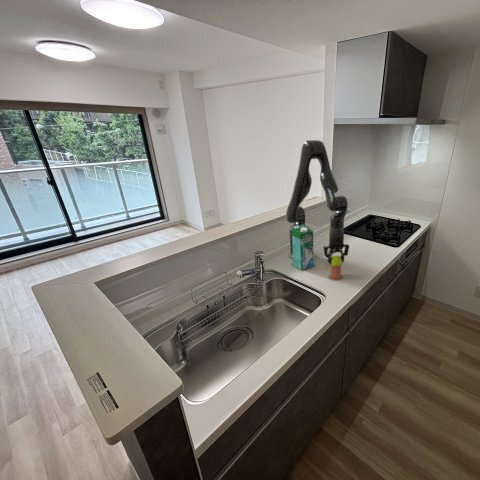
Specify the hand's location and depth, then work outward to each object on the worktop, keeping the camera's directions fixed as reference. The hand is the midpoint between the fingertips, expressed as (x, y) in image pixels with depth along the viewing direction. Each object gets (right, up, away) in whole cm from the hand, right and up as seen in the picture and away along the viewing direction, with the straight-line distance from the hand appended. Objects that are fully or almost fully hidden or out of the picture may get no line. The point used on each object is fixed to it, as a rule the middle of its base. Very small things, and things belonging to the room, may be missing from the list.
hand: (335, 262), depth 142 cm
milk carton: (-18, -3, +17) cm, 25 cm away
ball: (0, +1, 0) cm, 1 cm away
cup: (0, -8, +3) cm, 9 cm away
